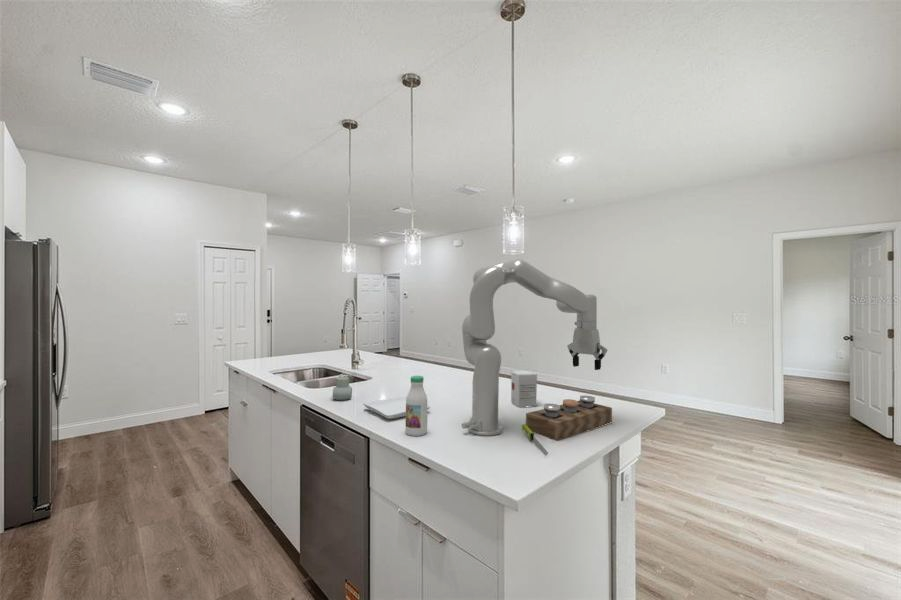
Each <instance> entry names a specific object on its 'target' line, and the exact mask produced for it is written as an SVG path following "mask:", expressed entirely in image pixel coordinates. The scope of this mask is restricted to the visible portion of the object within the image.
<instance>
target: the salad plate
mask: <svg viewBox="0 0 901 600" xmlns="http://www.w3.org/2000/svg"><path fill="white" fill-rule="evenodd" d="M406 399H407V396H399V397H393V398H386V399H380V400H375V401H369V402H363V406H364V407H365V408H366V409H368V410H370V411H371V412H373V413H375V414H377V415H379V416H381V417H384V418H386V419H388V420H395V419H400V418H406ZM430 408H431V405H428V404H427V411H429V409H430Z"/></svg>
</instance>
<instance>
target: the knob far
mask: <svg viewBox="0 0 901 600" xmlns="http://www.w3.org/2000/svg"><path fill="white" fill-rule="evenodd" d="M579 400H580V401H581V407H583V408H587V409H592V408H594V403H595V402H596V401H595V400H596V397H594V396H592V395H580V396H579Z"/></svg>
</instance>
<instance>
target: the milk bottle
mask: <svg viewBox="0 0 901 600" xmlns="http://www.w3.org/2000/svg"><path fill="white" fill-rule="evenodd" d="M424 379H425V377H424V376H422V375H412V376H411V377H410V387H409V391H408V393H407V395H406V397H407V399H406V416H405V434H407V435H408V436H413V437H417V436H418V437H419V436H420V437H421V436H424V435H426V434H427V432H428V410H427V405H428V397H427V394H426V391H425V388H424Z"/></svg>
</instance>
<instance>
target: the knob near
mask: <svg viewBox="0 0 901 600" xmlns="http://www.w3.org/2000/svg"><path fill="white" fill-rule="evenodd" d="M559 405H560V404H556V403H545V404H543V409H544V410H545V417H549V418H552V419H555V418H559V411H560V406H559Z"/></svg>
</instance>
